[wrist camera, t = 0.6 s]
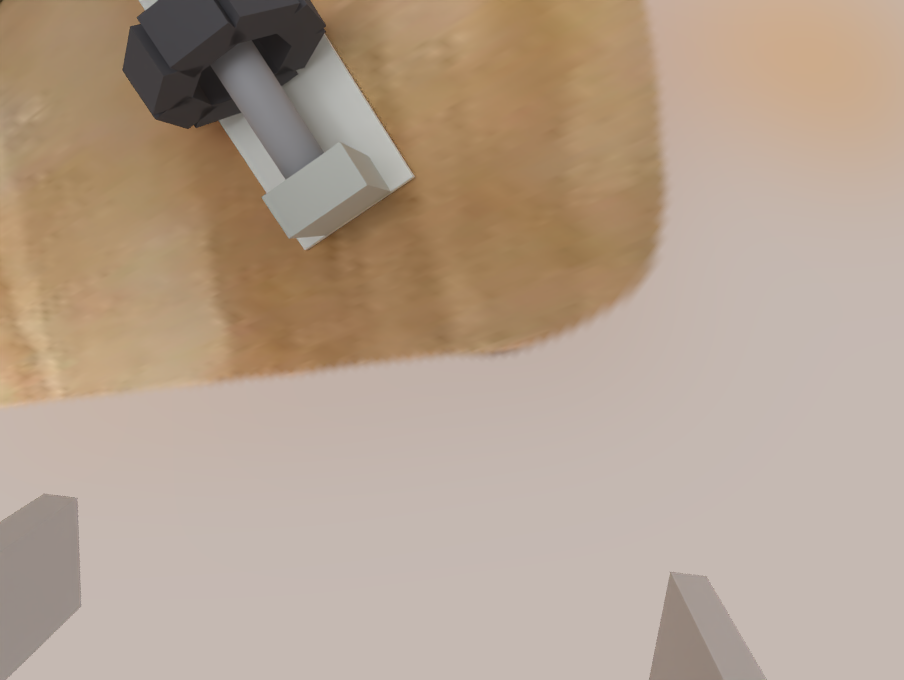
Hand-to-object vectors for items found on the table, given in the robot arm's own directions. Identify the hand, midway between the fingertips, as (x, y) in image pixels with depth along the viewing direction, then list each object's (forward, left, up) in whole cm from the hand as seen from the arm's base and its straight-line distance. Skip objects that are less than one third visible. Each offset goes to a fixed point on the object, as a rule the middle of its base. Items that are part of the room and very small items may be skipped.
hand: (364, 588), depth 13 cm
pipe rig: (-20, 0, -26) cm, 32 cm away
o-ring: (-20, 0, -24) cm, 31 cm away
